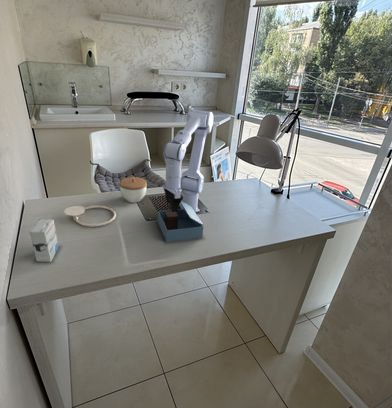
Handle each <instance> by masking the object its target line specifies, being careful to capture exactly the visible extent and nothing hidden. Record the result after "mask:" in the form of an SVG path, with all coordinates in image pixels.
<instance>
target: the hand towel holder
mask: <svg viewBox="0 0 392 408" xmlns="http://www.w3.org/2000/svg"><path fill="white" fill-rule="evenodd" d="M92 209H105V210H107V211H108V210H109V211H110V212H112V213H113V216H112V218H110V219H109V220H107V221H104V222H100V223H86V222H83V221H80V220H79V216H81V215H83V214H84V213H85V211H86V210H92ZM63 213H64V214H65V215H66V216H68V217H73V218H72V220H73V221H74V222H76V223H77V224H79V225H80V226H84V227H91V228H97V227H103V226H106V225H108V224H110V223H112V222H114V220H115V219H116V217H117V213H116V211H115V210H114V209H113V208H112V207H110V206H107V205H98V204H97V205H89V206H85V207H83V206H80V205H73V206H69V207H66V208H65V209H64V211H63Z"/></svg>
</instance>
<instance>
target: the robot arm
mask: <svg viewBox="0 0 392 408" xmlns="http://www.w3.org/2000/svg"><path fill="white" fill-rule="evenodd" d="M213 125H214V114H213V112H212V111H205V110H200V109H194V108H190V109H189V110H188V111H187V115H186V124H185V125H184V127H183V129H179V130H178V131H177V133H176V134H175V136H174V137H173V138H172V140H171V141H169V142H168V143H165V145H164V147H163V152H162V154H163V157H164V163H165V183H164V184H162V186H161V188H162V189H163V191H164V195H165V200H166V203H167V204H170V210H171V211H172V212H177V210H178V209H179V208H180V209H184V208H183V206H182V205H181V203H180V202H181V201H183V202H185V203H186V204H188V205H189V206H191V207H192V208H193V210H194V211H195V213H197V212H201V209H200V208H199V207H198V203H199V194H200V193H201V192H202V191H203V188H204V179H205V177H204V176H203V174H202V173H201V172H200V170H201V163H202V158H203V153H204V148H205V143H206V139H207V135H209V134H210V133H211V132H212V129H213ZM193 134H194V139H193V143H192V148H191V153H190V159H189V164H188V169H187V170H185V171H183V172H182V162H183V159H184V158H185V156H186V155H185V154H186V152H187V147H188V146H189V144H190V143H191V141H192V135H193Z"/></svg>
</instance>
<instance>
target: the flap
mask: <svg viewBox="0 0 392 408" xmlns="http://www.w3.org/2000/svg"><path fill="white" fill-rule="evenodd" d="M180 203H181V205H182V206H183V208H184V210H185V211H186V213H187V214H188V216H189V218H191V219H192V220H194V221H196V222H198V223H199V224H201V225H203V226H204V223H203V221H202V220H201V219H200V217H199V216H198V214H197V212H195V211H194V210H193V208H192V207H191V206H189V205H188V204H186V203H185V202H183V201H181V202H180Z"/></svg>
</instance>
